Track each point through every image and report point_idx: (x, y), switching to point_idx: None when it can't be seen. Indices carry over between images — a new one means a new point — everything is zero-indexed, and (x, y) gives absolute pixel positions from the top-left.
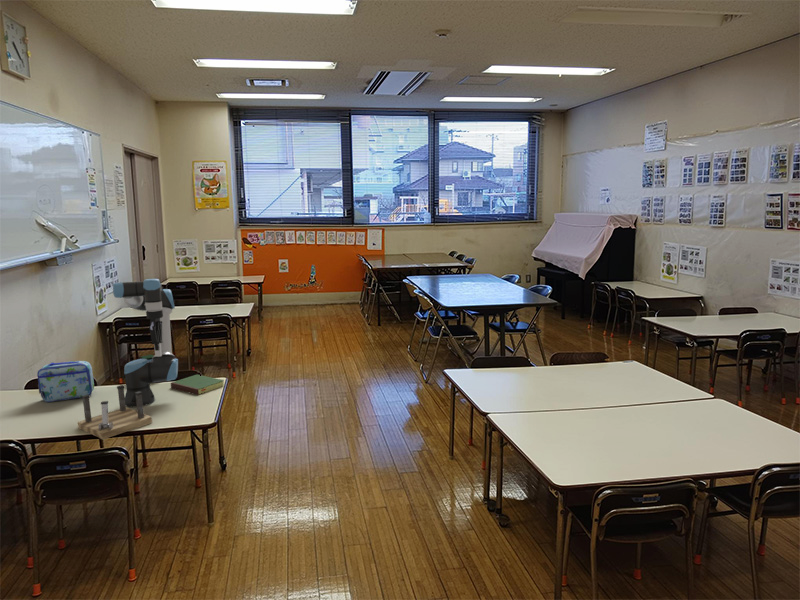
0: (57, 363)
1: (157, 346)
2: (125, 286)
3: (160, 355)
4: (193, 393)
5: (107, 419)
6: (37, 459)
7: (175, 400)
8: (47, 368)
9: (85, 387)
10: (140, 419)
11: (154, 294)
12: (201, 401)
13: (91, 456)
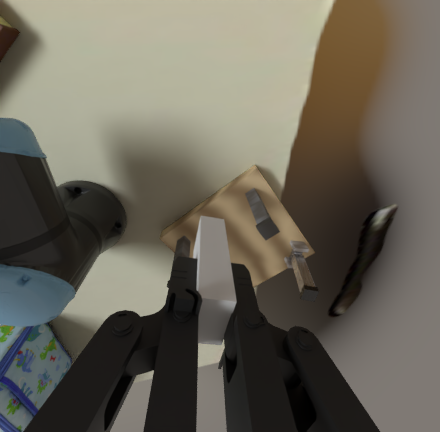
0: None
1: (255, 297)
2: None
3: (223, 224)
4: (4, 53)
5: (302, 260)
6: (340, 308)
7: (80, 118)
8: None
9: (35, 339)
10: (265, 193)
11: None
12: (100, 13)
13: (381, 246)
